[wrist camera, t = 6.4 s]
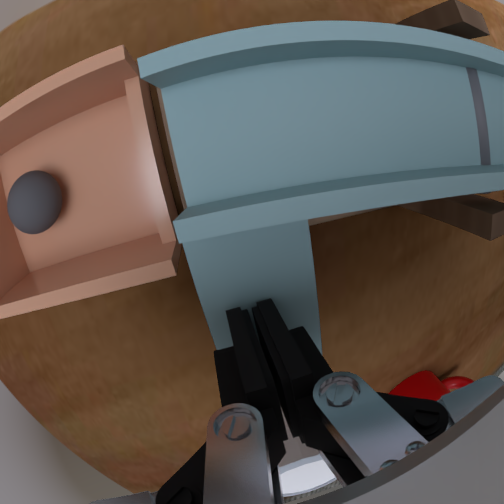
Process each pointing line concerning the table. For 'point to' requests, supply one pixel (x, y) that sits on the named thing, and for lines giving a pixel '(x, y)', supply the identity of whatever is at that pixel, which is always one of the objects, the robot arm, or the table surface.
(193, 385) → the table surface
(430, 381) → the mug
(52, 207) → the ball
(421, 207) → the launcher base
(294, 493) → the white cylinder
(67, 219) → the pink open box
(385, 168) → the lever
